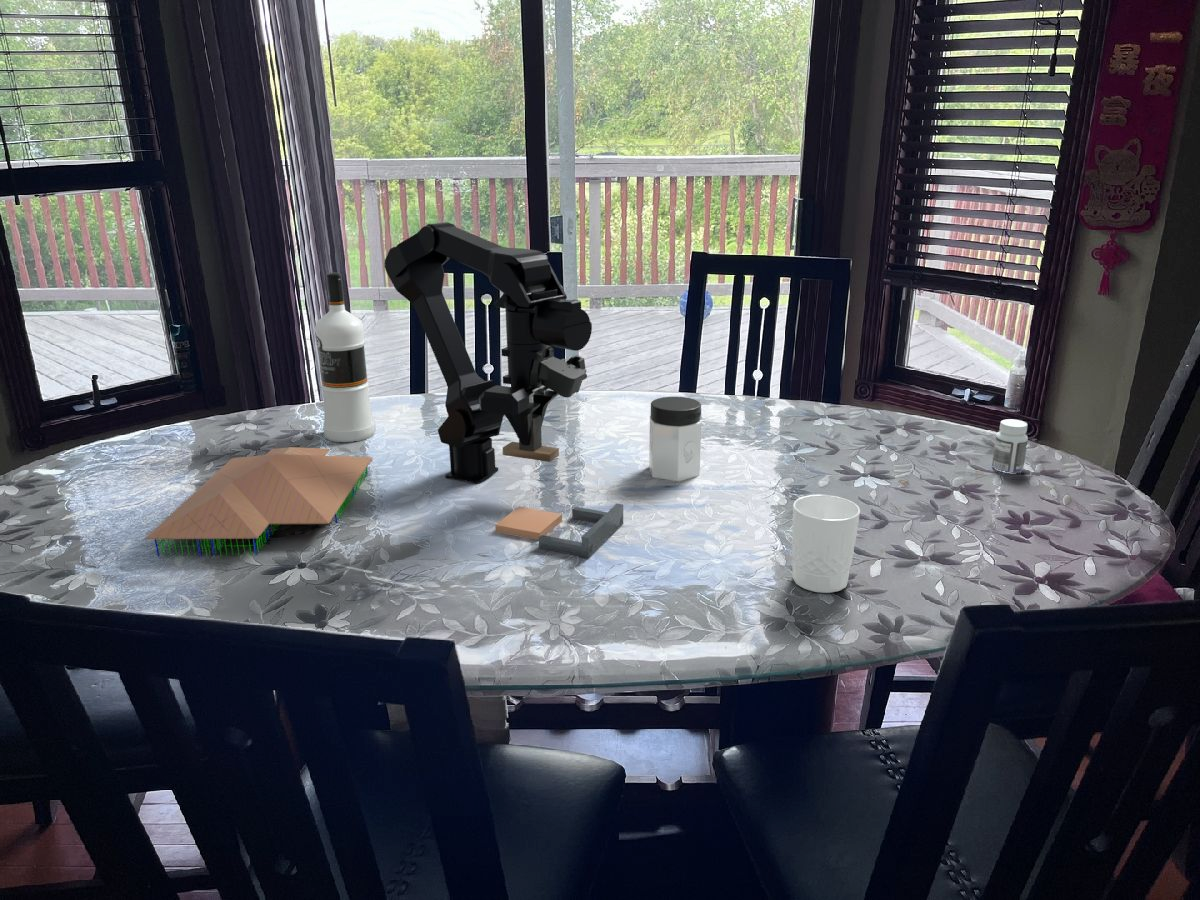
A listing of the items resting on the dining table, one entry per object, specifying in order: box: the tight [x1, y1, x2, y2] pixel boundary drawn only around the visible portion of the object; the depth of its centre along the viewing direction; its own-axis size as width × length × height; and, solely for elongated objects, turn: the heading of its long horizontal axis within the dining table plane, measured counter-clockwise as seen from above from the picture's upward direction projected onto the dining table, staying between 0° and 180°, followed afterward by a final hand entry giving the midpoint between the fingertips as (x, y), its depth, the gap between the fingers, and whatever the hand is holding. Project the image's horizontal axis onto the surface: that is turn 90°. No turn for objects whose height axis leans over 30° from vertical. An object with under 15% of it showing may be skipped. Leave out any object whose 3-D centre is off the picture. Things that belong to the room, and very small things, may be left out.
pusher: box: [502, 414, 560, 463], centre depth 134 cm, size 3×8×6 cm, turn 66°
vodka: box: [314, 271, 377, 443], centre depth 159 cm, size 9×9×30 cm
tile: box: [494, 506, 563, 541], centre depth 127 cm, size 7×7×2 cm
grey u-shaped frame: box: [538, 503, 624, 560], centre depth 123 cm, size 8×12×3 cm, turn 156°
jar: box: [648, 396, 703, 482], centre depth 144 cm, size 9×8×12 cm
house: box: [144, 446, 374, 557], centre depth 132 cm, size 23×33×8 cm
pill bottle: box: [991, 418, 1029, 472], centre depth 145 cm, size 5×5×8 cm
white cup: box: [791, 494, 861, 594], centre depth 109 cm, size 8×8×10 cm
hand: (530, 442), depth 134 cm, fingers closed on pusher, 2 cm apart
